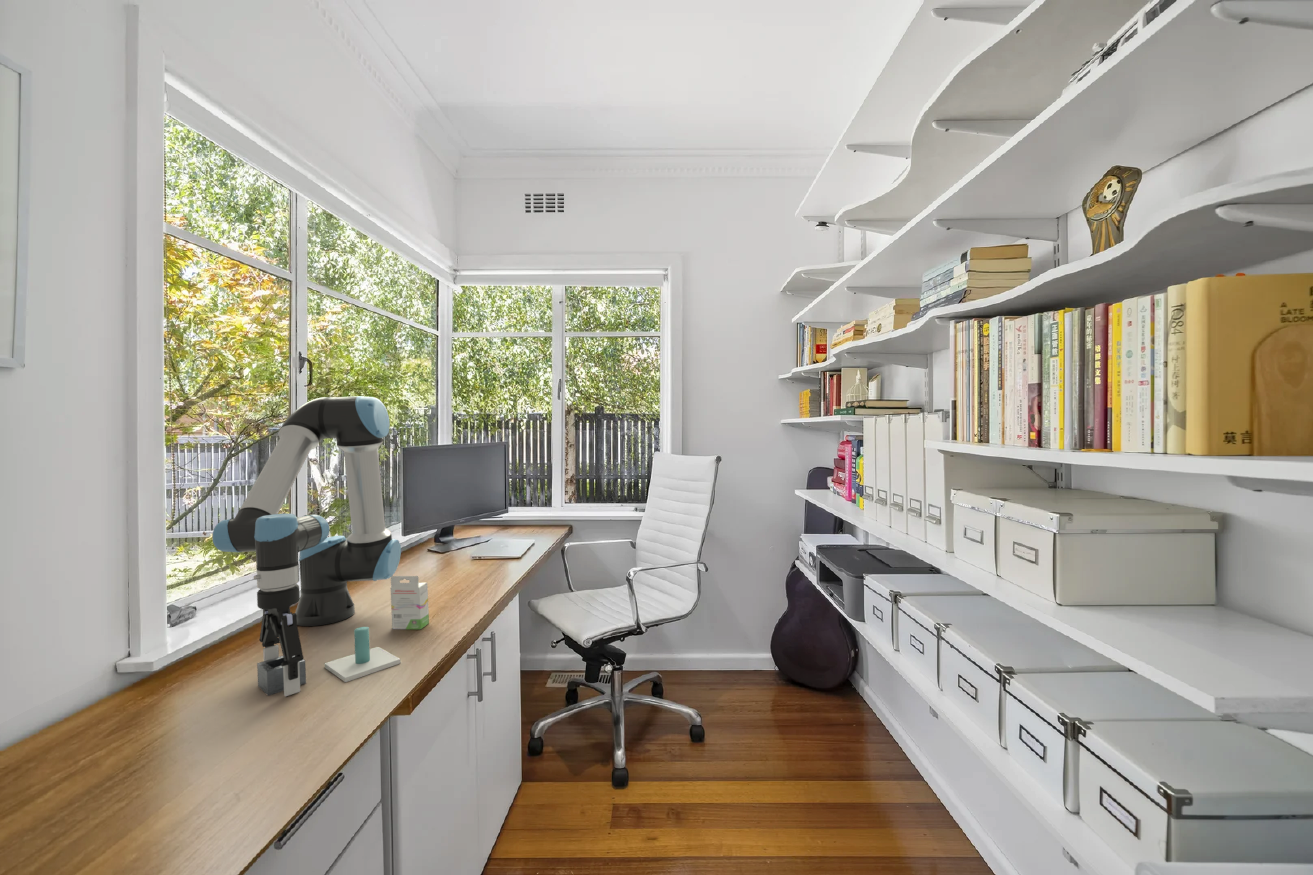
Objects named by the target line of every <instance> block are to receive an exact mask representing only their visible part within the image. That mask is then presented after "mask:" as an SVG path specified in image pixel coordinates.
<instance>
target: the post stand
mask: <svg viewBox="0 0 1313 875" xmlns="http://www.w3.org/2000/svg"><path fill="white" fill-rule="evenodd" d="M353 634H354V653H353V654H350V655H346V656H344V657H343V656H342V657H340V658H337V659H333V660H331V661H328V662H325V663H324V668H325V669H326V670H327V671H329V672H330V673H331V674H333V675H335V676H336V677H338V678H339V679H340V680H341V681H343V682H344V683H347V682H350V681H353V680H356V679H359V678H361V677H364V676H368V675H371V674H373V673H376V672H377V673H378V672H380V671H383V670H385V669H388V668H391V667H395V666H398V665H400V664H401V658H400V657H398V656H396V655H395V654H392V653H390V652H389V651H387V650H385V649H383V648H381V647H379V646H376V647H373V648H370V647H371V646H370V627H369V626H361V627H357V628H355V629H354V630H353Z"/></svg>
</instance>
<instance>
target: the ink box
mask: <svg viewBox="0 0 1313 875" xmlns="http://www.w3.org/2000/svg"><path fill="white" fill-rule="evenodd" d="M405 580H406V581H409V582H401V581H405ZM419 580H420V579H419V575H393V576H391V577H390V605H391V606H390V607H391V610H390V611H391V629H392V630H422V629H423V628H424V627H426V626H427V625H429V624H430V617H429V616H430V614H429V610H430V609H429V590H428V588H429V587H428V582H420V581H419Z"/></svg>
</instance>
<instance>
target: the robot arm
mask: <svg viewBox="0 0 1313 875" xmlns="http://www.w3.org/2000/svg"><path fill="white" fill-rule="evenodd" d="M390 426H391V425H390V417H389V412H388V411H387V408H386V406H385V404H384V403H383V402H382V401H381V400H380V399H378V398H376V397H375V396H363V395H362V396H361V395H360V396H337V397H335V396H334V397H333V396H332V397H329V396H324V397H319V398H318V397H317V398H314V399H312V400H310V401H308V402H306V403H304V404H303V405H301V406H300V407H299V408H297V409H296V410H295V411H293V412H292V413H291V414H290V415H289V416H288V417H287V419H286V420H285V421H284V422H283V424H282V425H281V428H280V429H279V431H278V437H279V440H278V441H277V443H276V445H275V447H274V448H273V450H272V452H271V453H270V456H269V457H268V459H267V461H266V462H265V464H264V465H263V468H262V470H261V472H260V473H259V475H258V477H257V479H256V480H255V482H254V484H253V486H252V487H251V489H250V490H249V492H248V494H247V496H246V498H245V500H244V501H243V503H242V505H241V507H240V508H239V510H238V511H237V514H236V515H235V516H234V518H228V519H223V520H221V521H220V522H218V523H216V525H215V526H214V527H213V531H212V543H213V545H214V547H215V548H216V549H217V550H218V551H220V552H226V553H227V552H228V553H245V552H255V559H256V561H255V562H256V566H255V567H256V575H254V576H253V580H255V581H256V584H257V586H256V587H257V588H258V590H257V592H256V602H257V603H256V605H257V608H258V609H261V610H262V618H261V627H260V635H259V642H260V643H261V646H262V648H263V650H262V651H263V661H266V660H270V659H273V658H277V657H280V652H279V650H280V649H281V653H282V656H283V657H284V661H285V662H282V664H281V666H283V678H284V691H283V696H284V697H287V696H291V695H294V694H297V693H300V692H301V685H300V669H299V661H302V660H303V659H304V654H303V649H302V645H301V639H300V632H299V628H298V626H300V627H317V626H324V625H325V626H326V625H329V624H335V623H338V622H342V621H344V620H346V619H348V618H350V617H353V615H355V613H356V612H355V608H356V607H355V602H354V601H353V598H352V596H351V593H350V591H349V590H348V582H361V581H362V582H365V581H366V582H369V581H370V582H371V581H373V582H377V581H381V580H388V579H391V576H394V574H395V573H396V572H397V570H398V567H399V563H400V561H401V553H402V547H401V545H402V544H401V543H400V541H399V540H398V539H396V538H393V536H392V531H391V530H390V529H389V528H387V527H386V524H385V523H386V522H385V514H384V513H385V512H384V503H383V502H384V501H383V491H382V490H383V489H382V481H381V480H382V479H381V470H380V460H379V447H380V446H381V445H382V444H384V443H383V442H384V441H383V439H384V438H385V437H387V435H388V434H389V433H390ZM325 439H336V446H337V448H339V449H341V450H342V451H343V456H344V463H345V464H344V466H345V476H346V484H347V495H348V503H349V504H348V505H349V506H348V507H349V513H350V514H349V515H350V523H351V533H350V534H349V535H348V536H347V537H346V536H345V535H334V536H329V534H330V524H329V522H328V521H327V520H326V519H325V518H324V517H323V516H321V515H319V514H305V515H303V516H297V515H296V514H294V513H279V512H280V510H281V509H282V508H283V504H284V503H285V501H286V498H288V495H289V493H290V491H291V489H292V487H293V485H294V483H295V481H296V479H297V477H298V475H299V474H300V471H301V470H302V468H303V465H304V463H305V462H306V460H307V458H308V456H309V454H310V452H311V451H312V450H314V449H316V448H317V447H318V446H319V443H320V442H321V441H323V440H325ZM299 582H300V585H299V584H298V583H299ZM297 603H298V604H297ZM295 604H297V607H296V609H295V612H291V609H290V608H291V606H293V605H295ZM279 646H280V647H279ZM279 648H280V649H279ZM292 656H295V657H292Z"/></svg>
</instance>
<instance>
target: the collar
mask: <svg viewBox="0 0 1313 875" xmlns="http://www.w3.org/2000/svg"><path fill="white" fill-rule="evenodd" d="M292 657H295V656H292ZM282 662H285V661H284V657H283V655H281V656H280V655H279V657H277V658H273V659H270V660H266V661H264V660H263V661H260V662H257V663H256V666H257V667H256V668H257V687H258V688H259V689H260V690H261V691H263V693H264V694H265V695H266V696H268V697H269V696H271V695H275V694H277V693H281V692H284V678H283V666H281V664H282ZM306 666H307V665H306V660H305V659H304V658H303V660H302V661H299V669H300V686H302V685H305V684H307V674H306V673H307V669H306V668H307V667H306Z"/></svg>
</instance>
